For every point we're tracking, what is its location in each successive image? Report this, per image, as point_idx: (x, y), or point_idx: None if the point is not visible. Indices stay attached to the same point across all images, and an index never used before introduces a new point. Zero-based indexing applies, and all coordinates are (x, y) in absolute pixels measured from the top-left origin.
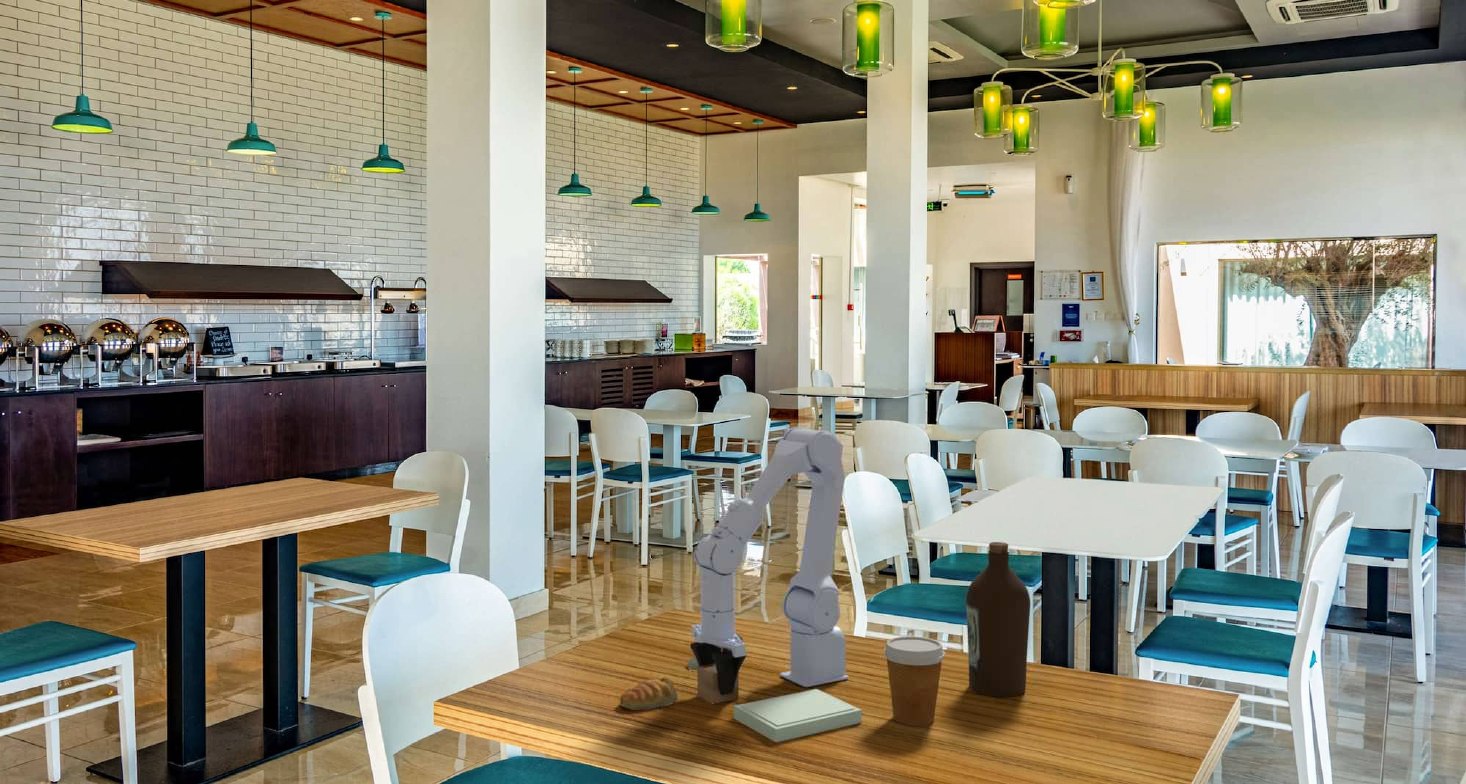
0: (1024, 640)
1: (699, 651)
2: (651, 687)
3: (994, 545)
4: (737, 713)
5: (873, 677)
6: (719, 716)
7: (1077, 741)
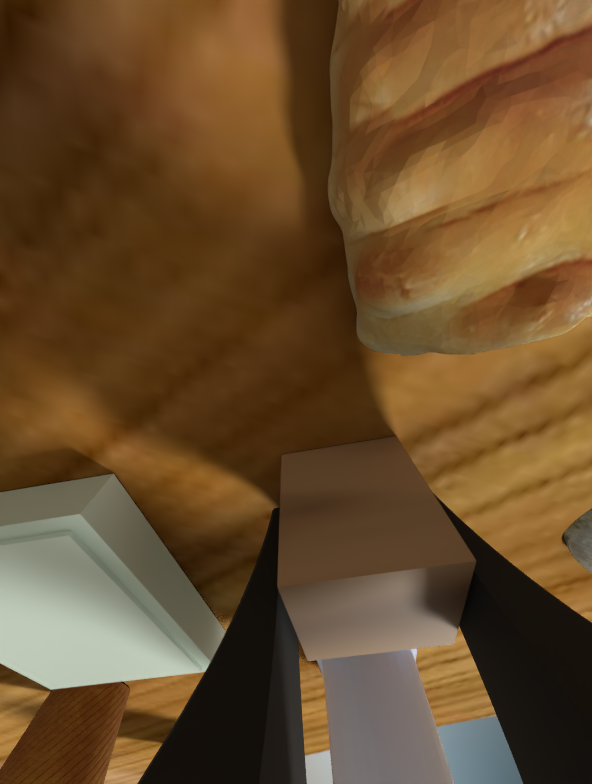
0: None
1: (583, 730)
2: (454, 111)
3: None
4: (70, 498)
5: (320, 692)
6: (145, 440)
7: (7, 744)
